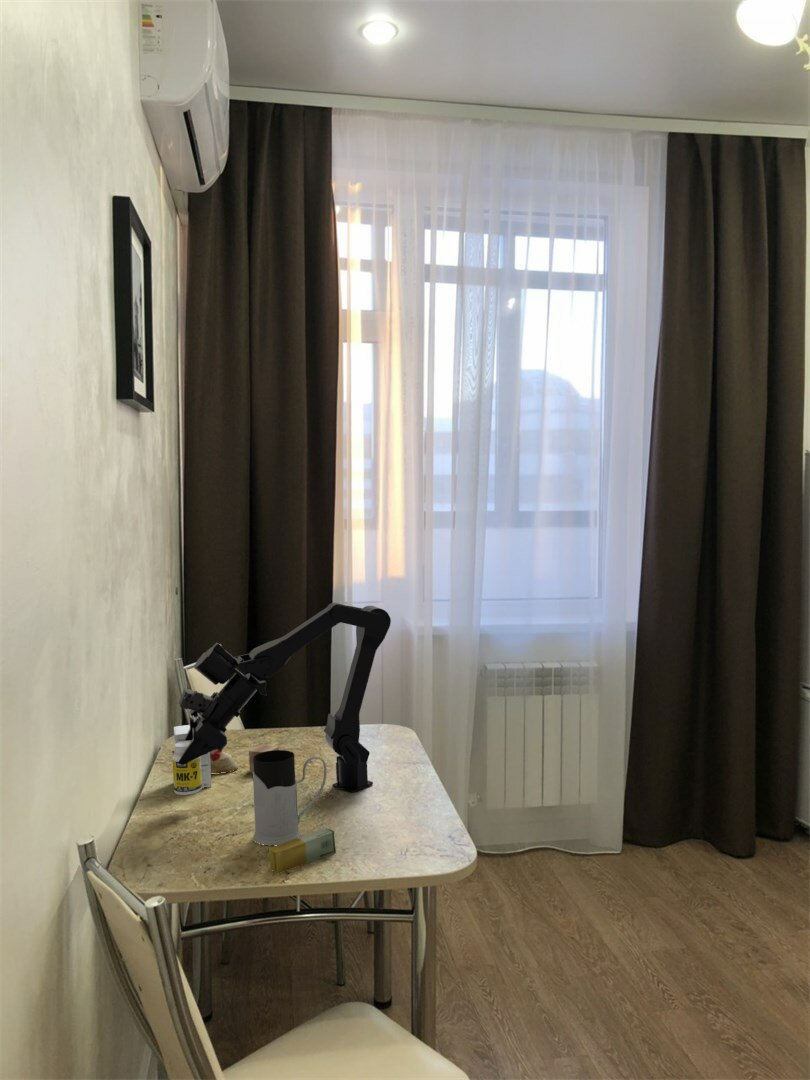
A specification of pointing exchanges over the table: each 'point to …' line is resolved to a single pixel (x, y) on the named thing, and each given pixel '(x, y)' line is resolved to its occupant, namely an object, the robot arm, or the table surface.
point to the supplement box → (180, 735)
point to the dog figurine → (221, 762)
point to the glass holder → (277, 796)
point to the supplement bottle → (186, 772)
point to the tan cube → (259, 750)
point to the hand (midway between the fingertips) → (179, 759)
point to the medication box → (302, 850)
